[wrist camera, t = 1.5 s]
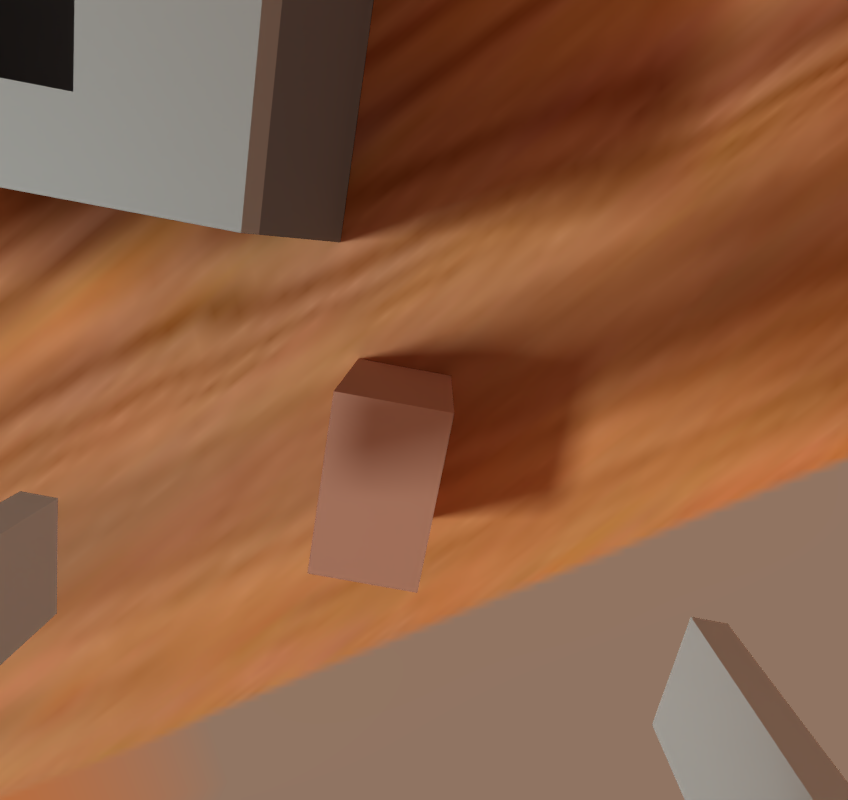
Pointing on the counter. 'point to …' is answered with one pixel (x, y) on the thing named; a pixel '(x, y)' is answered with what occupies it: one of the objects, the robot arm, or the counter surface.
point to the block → (381, 474)
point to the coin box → (186, 108)
